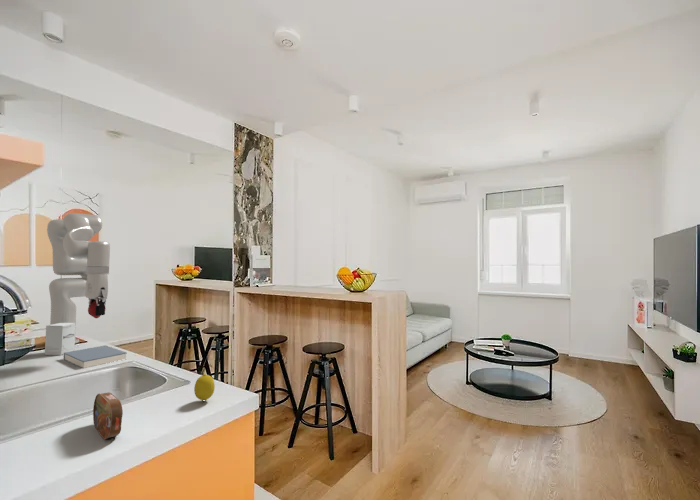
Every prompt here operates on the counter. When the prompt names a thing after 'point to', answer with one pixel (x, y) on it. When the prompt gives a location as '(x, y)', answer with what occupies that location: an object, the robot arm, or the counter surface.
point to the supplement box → (60, 338)
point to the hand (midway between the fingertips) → (96, 314)
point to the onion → (93, 309)
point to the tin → (107, 415)
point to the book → (94, 356)
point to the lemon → (204, 387)
